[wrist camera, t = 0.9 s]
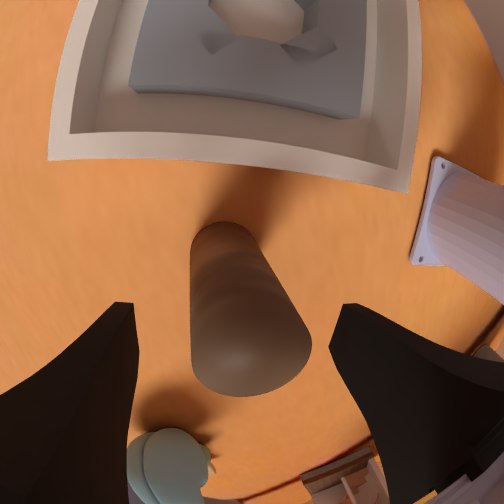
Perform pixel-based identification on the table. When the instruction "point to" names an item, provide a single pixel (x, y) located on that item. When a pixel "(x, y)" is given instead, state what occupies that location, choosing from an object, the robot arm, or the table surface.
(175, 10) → the box
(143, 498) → the toy flower bud
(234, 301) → the peg
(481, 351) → the lotion bottle
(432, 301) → the table surface
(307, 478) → the tall white shelf
